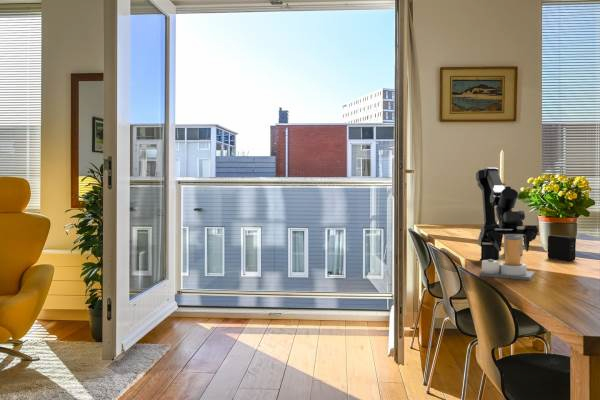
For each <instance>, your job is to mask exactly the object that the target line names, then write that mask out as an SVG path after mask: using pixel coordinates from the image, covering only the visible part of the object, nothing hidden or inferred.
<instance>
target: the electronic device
mask: <svg viewBox="0 0 600 400" xmlns="http://www.w3.org/2000/svg"><path fill="white" fill-rule="evenodd" d="M576 242H577V241H576V237H575V236H569V235H568V236H567V235H559V234H554V235H553V234H552V235H548V236H547V258H548V259H550V260H555V261H562V262H572V261H576V250H577V249H576V247H577V245H576V244H577V243H576Z"/></svg>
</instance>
